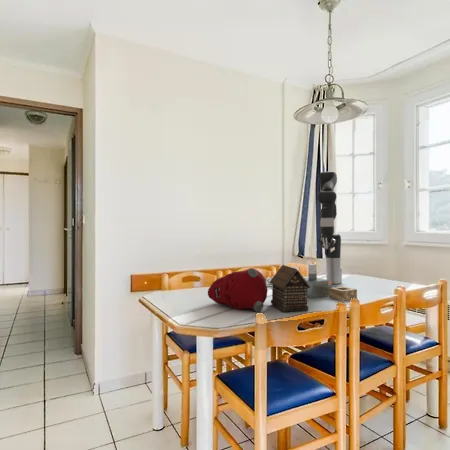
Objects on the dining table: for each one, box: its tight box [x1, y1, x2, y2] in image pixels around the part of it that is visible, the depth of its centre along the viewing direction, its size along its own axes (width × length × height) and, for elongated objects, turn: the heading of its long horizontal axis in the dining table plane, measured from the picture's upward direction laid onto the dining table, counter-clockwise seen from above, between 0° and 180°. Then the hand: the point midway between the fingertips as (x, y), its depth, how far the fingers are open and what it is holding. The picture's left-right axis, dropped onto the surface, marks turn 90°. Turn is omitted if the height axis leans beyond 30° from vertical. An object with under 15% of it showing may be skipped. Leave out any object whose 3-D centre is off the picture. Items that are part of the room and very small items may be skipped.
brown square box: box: [329, 286, 358, 302], centre depth 185 cm, size 10×10×5 cm
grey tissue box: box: [303, 277, 338, 299], centre depth 194 cm, size 20×12×9 cm, turn 116°
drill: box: [307, 263, 318, 280], centre depth 193 cm, size 3×3×14 cm
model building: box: [270, 264, 310, 313], centre depth 166 cm, size 18×14×20 cm
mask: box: [207, 267, 268, 313], centre depth 170 cm, size 20×26×30 cm
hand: (327, 255), depth 197 cm, fingers closed
